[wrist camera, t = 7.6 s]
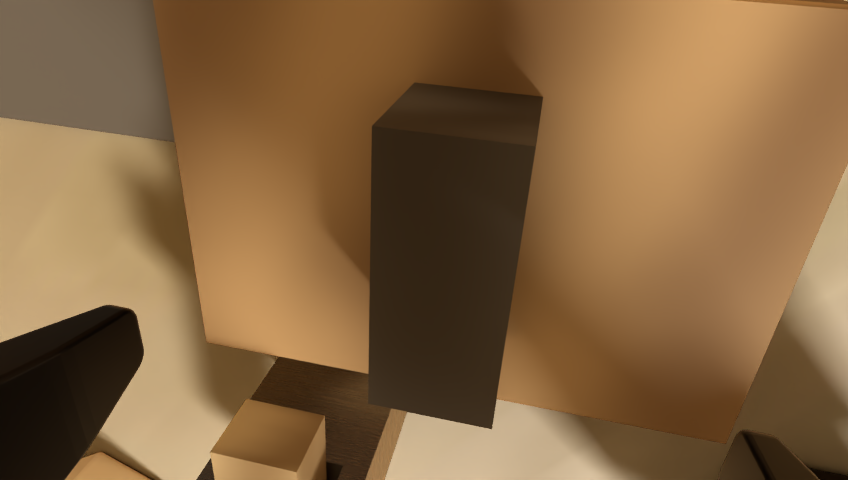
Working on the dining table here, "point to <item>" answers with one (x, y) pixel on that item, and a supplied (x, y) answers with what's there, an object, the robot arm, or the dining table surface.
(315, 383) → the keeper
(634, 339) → the lid
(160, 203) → the dining table surface
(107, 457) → the jar
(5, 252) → the dining table surface
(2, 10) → the mat
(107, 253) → the dining table surface
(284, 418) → the tan wooden bar
